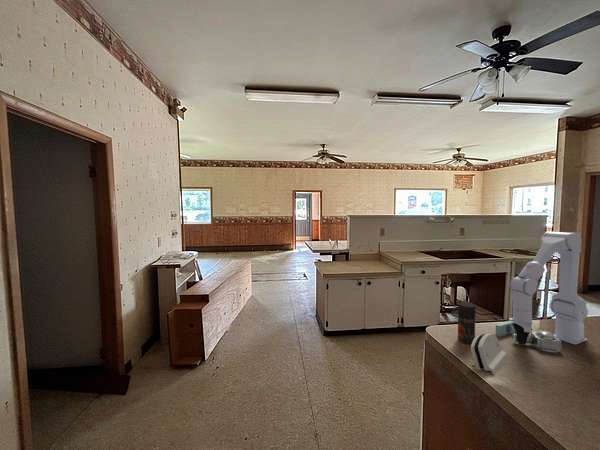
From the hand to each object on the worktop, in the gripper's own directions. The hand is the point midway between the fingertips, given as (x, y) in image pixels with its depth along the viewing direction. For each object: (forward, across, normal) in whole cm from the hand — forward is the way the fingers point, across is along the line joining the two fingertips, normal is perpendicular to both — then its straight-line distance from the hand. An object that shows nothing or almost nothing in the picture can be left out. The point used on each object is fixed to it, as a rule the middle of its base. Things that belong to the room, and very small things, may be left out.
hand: (521, 343), depth 105 cm
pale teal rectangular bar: (+1, -12, -2) cm, 12 cm away
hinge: (+2, +18, -14) cm, 22 cm away
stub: (+1, -3, +8) cm, 8 cm away
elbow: (+1, -2, +5) cm, 5 cm away
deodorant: (+1, +3, -19) cm, 19 cm away
